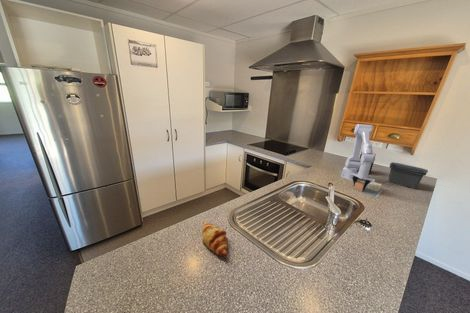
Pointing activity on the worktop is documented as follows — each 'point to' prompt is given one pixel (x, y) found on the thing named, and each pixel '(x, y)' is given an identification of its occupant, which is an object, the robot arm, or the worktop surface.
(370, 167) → the coffee jar
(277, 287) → the worktop surface
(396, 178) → the storage bin
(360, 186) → the terracotta block
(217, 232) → the croissant
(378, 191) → the board
